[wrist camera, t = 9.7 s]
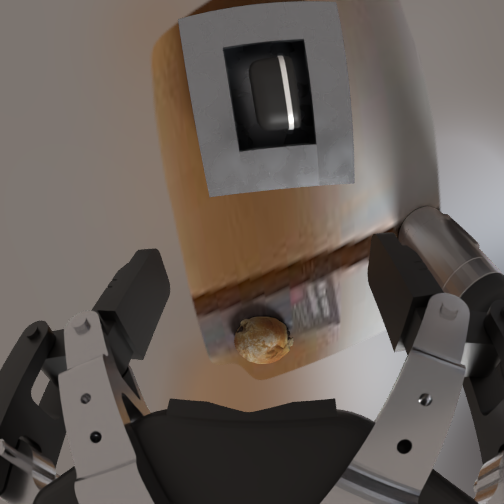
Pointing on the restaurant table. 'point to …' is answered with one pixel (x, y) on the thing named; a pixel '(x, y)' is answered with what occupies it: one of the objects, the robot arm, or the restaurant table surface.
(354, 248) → the restaurant table surface
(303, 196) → the restaurant table surface
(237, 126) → the box
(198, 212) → the restaurant table surface
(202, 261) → the restaurant table surface
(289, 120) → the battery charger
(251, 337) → the bread roll
